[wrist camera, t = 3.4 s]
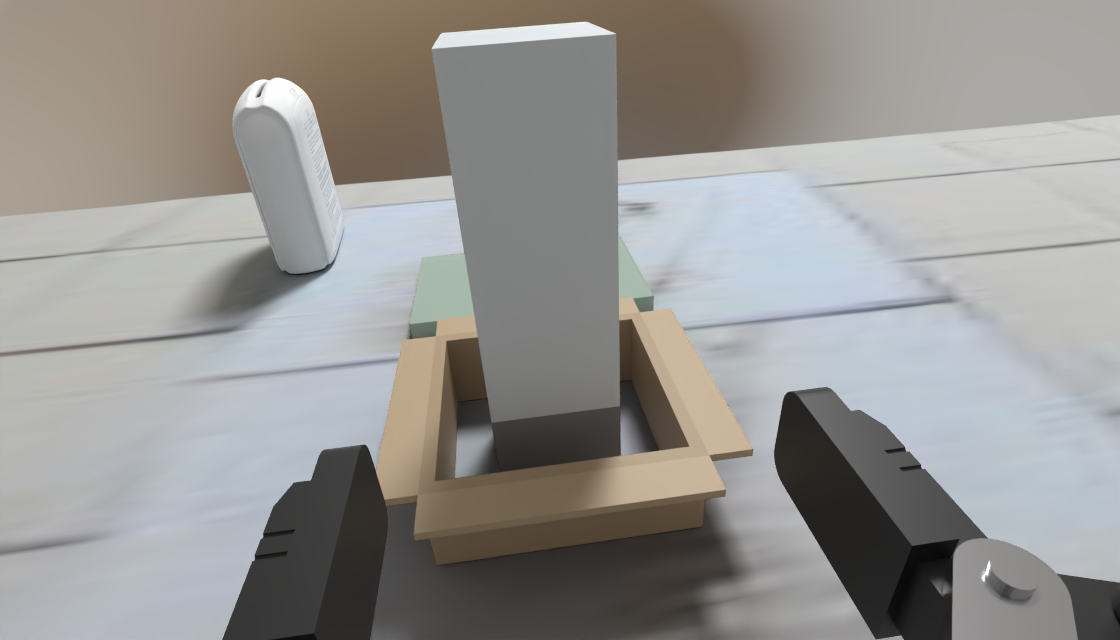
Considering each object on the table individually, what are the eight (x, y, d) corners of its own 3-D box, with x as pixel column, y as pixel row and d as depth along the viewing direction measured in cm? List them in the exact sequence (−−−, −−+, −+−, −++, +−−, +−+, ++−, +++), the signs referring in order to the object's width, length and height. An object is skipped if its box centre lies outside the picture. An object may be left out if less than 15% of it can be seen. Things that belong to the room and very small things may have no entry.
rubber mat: (412, 339, 33) (409, 324, 33) (424, 270, 41) (422, 257, 40) (653, 310, 34) (653, 295, 34) (620, 249, 42) (620, 236, 41)
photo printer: (297, 228, 50) (248, 73, 43) (349, 221, 50) (308, 67, 44) (274, 280, 41) (208, 96, 35) (337, 271, 42) (284, 88, 35)
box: (504, 501, 22) (431, 48, 14) (500, 423, 26) (441, 33, 18) (621, 485, 23) (616, 34, 15) (599, 410, 27) (586, 21, 18)
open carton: (387, 612, 19) (361, 540, 17) (419, 382, 29) (406, 323, 28) (759, 556, 20) (773, 482, 18) (660, 352, 30) (662, 293, 29)
